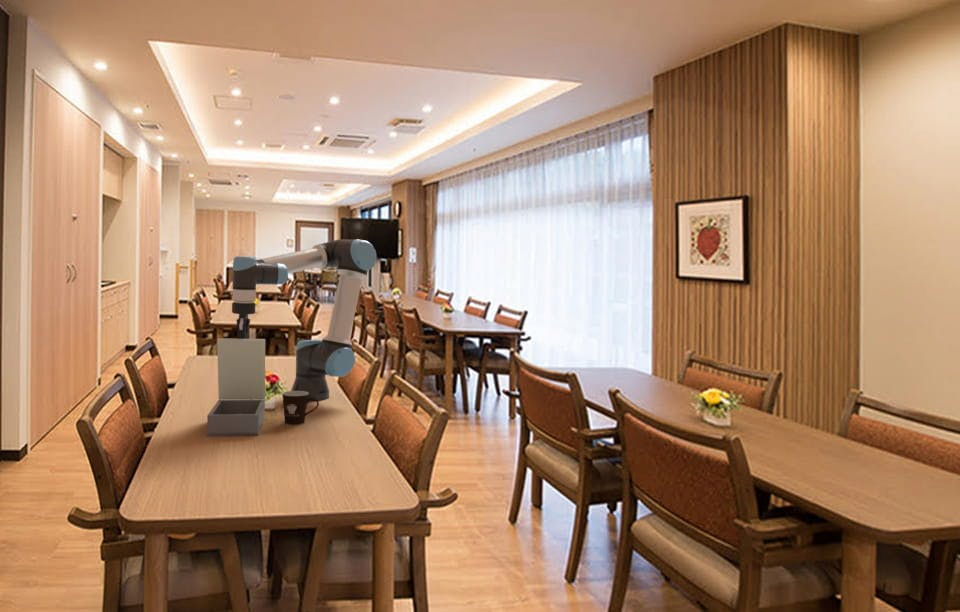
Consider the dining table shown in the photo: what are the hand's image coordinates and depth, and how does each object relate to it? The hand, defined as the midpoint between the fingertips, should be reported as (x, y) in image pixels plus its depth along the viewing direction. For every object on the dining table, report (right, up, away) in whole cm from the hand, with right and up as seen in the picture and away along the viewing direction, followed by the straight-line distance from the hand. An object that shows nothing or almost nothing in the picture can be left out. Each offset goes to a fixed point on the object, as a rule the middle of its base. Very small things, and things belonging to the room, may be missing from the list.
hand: (242, 370), depth 227 cm
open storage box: (+2, -17, -10) cm, 20 cm away
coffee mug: (+20, -18, -2) cm, 27 cm away
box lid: (+1, 0, -3) cm, 3 cm away
